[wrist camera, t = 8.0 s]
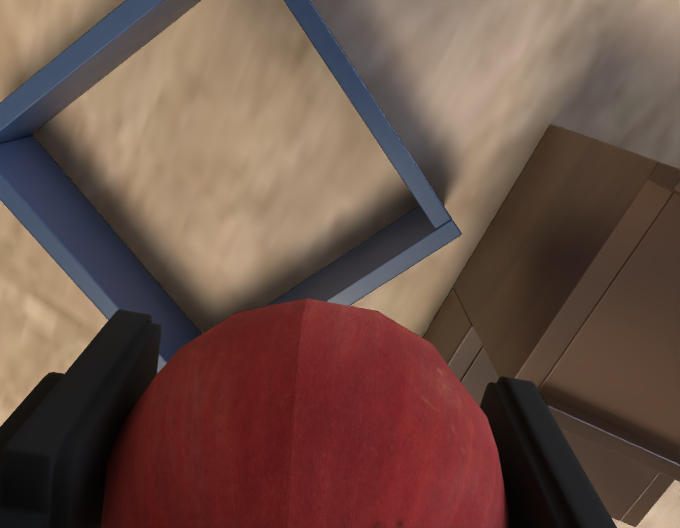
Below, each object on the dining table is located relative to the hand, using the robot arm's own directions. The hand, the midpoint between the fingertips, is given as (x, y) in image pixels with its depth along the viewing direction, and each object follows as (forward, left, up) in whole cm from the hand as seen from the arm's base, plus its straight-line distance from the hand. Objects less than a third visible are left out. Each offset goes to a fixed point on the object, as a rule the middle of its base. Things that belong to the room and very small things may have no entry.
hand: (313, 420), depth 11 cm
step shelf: (+13, +7, -19) cm, 24 cm away
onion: (0, 0, -2) cm, 2 cm away
